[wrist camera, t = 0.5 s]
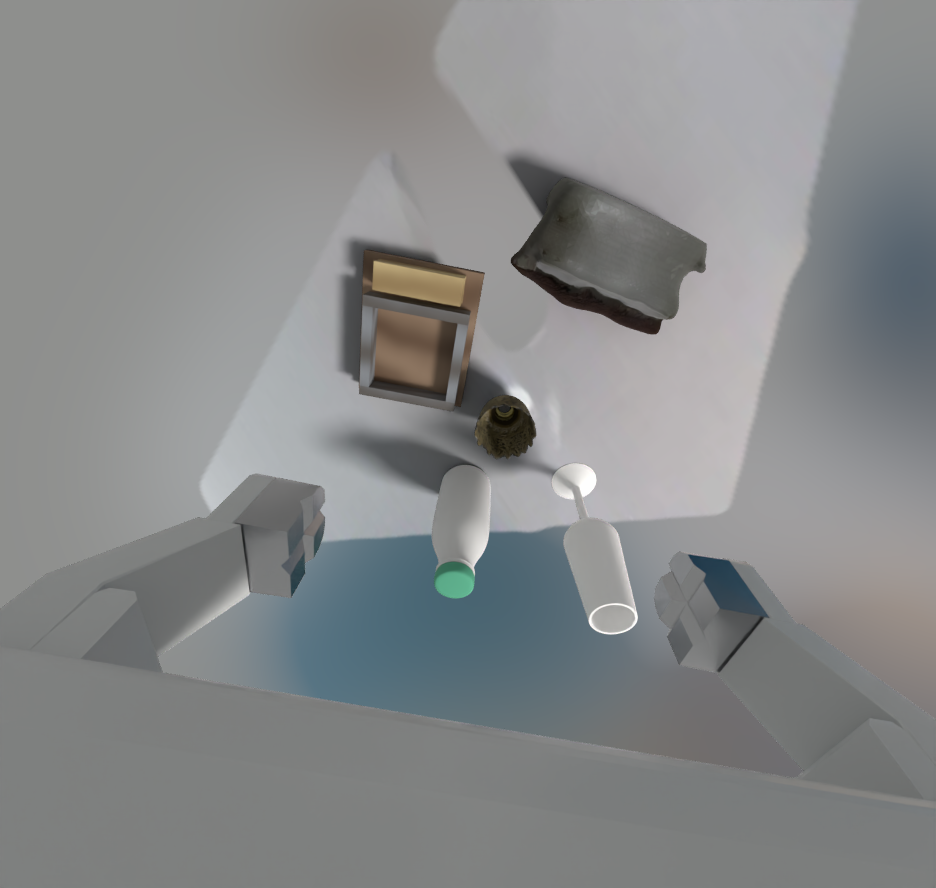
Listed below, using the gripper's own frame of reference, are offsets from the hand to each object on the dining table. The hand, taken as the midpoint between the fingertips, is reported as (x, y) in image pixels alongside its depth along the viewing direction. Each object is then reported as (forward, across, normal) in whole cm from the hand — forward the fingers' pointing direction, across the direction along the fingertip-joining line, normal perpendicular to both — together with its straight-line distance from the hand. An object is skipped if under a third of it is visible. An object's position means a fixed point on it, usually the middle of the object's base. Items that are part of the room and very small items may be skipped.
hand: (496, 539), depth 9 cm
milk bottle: (+45, -1, +29) cm, 53 cm away
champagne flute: (+44, -17, +25) cm, 54 cm away
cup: (+44, -4, +15) cm, 47 cm away
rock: (+44, -11, -5) cm, 46 cm away
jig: (+44, +9, +7) cm, 45 cm away
